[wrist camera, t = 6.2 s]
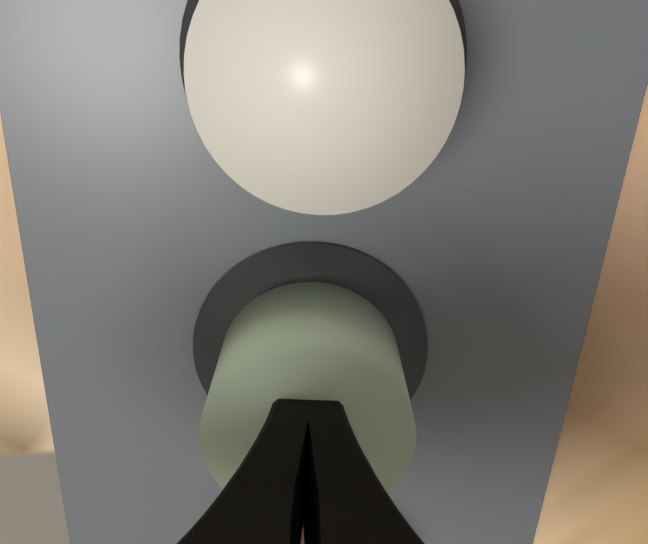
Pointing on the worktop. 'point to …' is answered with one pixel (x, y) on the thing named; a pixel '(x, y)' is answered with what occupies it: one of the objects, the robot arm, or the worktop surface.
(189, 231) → the panel
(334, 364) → the button sage
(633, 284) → the worktop surface
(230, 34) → the button cream
